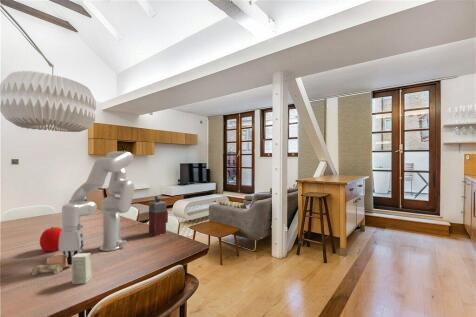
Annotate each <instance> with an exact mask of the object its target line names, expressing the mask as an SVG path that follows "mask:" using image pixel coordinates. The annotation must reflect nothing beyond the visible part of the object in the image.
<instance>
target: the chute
mask: <svg viewBox="0 0 476 317" xmlns="http://www.w3.org/2000/svg"><path fill="white" fill-rule="evenodd" d="M49 258H50V257H48V258H47V259H46V264H40V265H39V264H38V265H36V266H35V267H33V268H32V270H31V275H32V276H37V275H38V274H39V273H53V274H54V275H57V274H60V272H61V271H63V269H62V264H55V265H49Z"/></svg>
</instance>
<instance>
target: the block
mask: <svg viewBox="0 0 476 317" xmlns="http://www.w3.org/2000/svg"><path fill="white" fill-rule="evenodd" d="M48 258H49V265H55V264H62V270H64V269H65V268H66V267H67V266H69V265H68V263H67V257H66V255H64V254H62V253H59V252H58V253H54V254H53V255H51V256H50V257H48Z"/></svg>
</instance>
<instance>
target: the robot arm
mask: <svg viewBox="0 0 476 317" xmlns="http://www.w3.org/2000/svg"><path fill="white" fill-rule="evenodd" d="M133 161H134V155H133V153H131V152H129V151H118V150H115V151H110V152H108V153H107V154H106V157H99V158H97V159H95V161H94V163H93V165H92V168H91V170H90V172H89V175H88V177H87V179H86V181H85V182H84V183H82V185H80V186H79V187H78V188H76V190H75V192H74V193H73V194H72V196H71V198H70V200H69V203H67V204H64V205H63V206H62V208H61V229H62V231H61V233H60V237H59V250H58V254H59V253H62V254H64V255H66V257H67V263H68V265H67V266H69V265H70V266H72V257H73V256H74V255H76V254H78V253H83V251H84V248H83V247H85V240H84V233H83V232H84V231H83V227H84V226H83V225H81V217H86V216H91V215H93V214H94V213H95V212H96V211H97V210H98V205H97V203H95V202H94V201H89V200H86V199H85V198H86V197H87V196H88V195H89V194H90V193H91V192H94V191H95V190H97V189H100V188H101V187H103V185H104V184H105V181H106V179H107V176H108V174H109V173H111V174H110V175H111V176H110V178H109V182H108V187H107V192H108V193H109V194H111V195H116V196H106V197H105V198H103V199H102V201H101V202H100V209H101V213H102V214H101V215H102V244H101V245H100V246H99V251H102V252H112V251H117V250H120V249H121V248H122V247H124V246H123V245H125V246H126V245H127V244H128V241H127V240H125V239H124V240H123V239H122V238H121V216H120V214H126V213H128V212H129V211H130V209H131V206H132V202H133V198H134V193H135V184H134V182H133V181H131V180H130V179H129V180H128V179H126V177H127V169H126V167H128V166H130V165H131V164H132V163H133ZM117 195H118V196H117Z"/></svg>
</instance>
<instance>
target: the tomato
mask: <svg viewBox="0 0 476 317" xmlns="http://www.w3.org/2000/svg"><path fill="white" fill-rule="evenodd" d="M61 231H62V227H53V226H52V227H50V228H46V229H44V231H43V232H42V233H41V235H40V239H39V245H40V248H41V249H42V251H44V252H56V251H59V237H60V233H61Z"/></svg>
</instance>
